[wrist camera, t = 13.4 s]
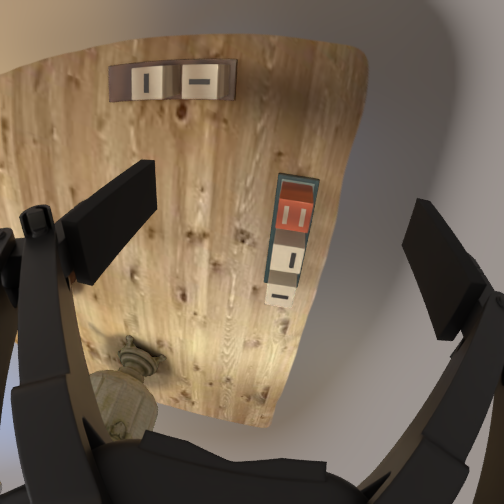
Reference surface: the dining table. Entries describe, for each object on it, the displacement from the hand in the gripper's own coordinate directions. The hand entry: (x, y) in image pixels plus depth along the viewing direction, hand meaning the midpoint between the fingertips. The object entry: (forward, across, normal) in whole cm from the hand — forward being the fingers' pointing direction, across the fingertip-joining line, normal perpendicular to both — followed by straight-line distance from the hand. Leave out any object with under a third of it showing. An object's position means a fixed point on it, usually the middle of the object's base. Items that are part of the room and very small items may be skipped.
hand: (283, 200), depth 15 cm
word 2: (+30, +1, -19) cm, 36 cm away
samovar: (+31, -32, -59) cm, 74 cm away
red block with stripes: (+30, +1, -12) cm, 32 cm away
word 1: (+30, -19, +4) cm, 36 cm away
